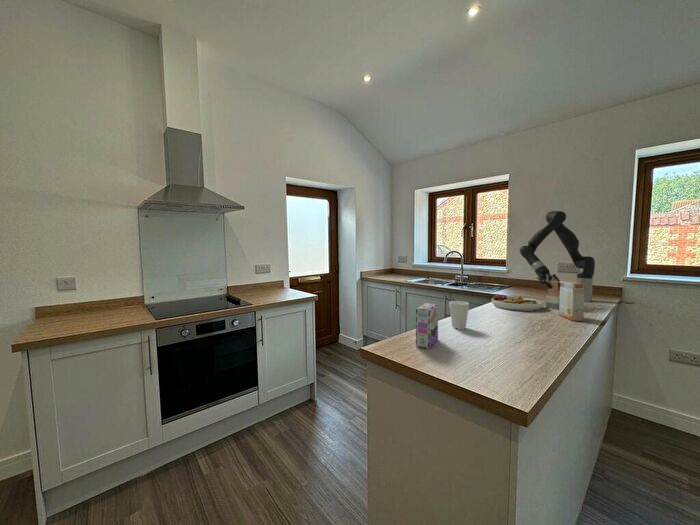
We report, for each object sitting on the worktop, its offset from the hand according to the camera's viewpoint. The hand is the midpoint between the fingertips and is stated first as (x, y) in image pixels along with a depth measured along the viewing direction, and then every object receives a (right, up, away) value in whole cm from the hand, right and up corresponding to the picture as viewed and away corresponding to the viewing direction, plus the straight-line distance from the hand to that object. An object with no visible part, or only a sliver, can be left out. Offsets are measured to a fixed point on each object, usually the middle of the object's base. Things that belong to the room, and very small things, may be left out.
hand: (555, 287), depth 189 cm
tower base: (0, -14, +2) cm, 14 cm away
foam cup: (-80, -17, -42) cm, 92 cm away
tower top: (0, -10, +2) cm, 10 cm away
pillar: (0, -6, +2) cm, 6 cm away
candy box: (-102, -19, -65) cm, 122 cm away
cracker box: (-10, -15, -25) cm, 31 cm away
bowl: (-22, -14, +7) cm, 27 cm away
